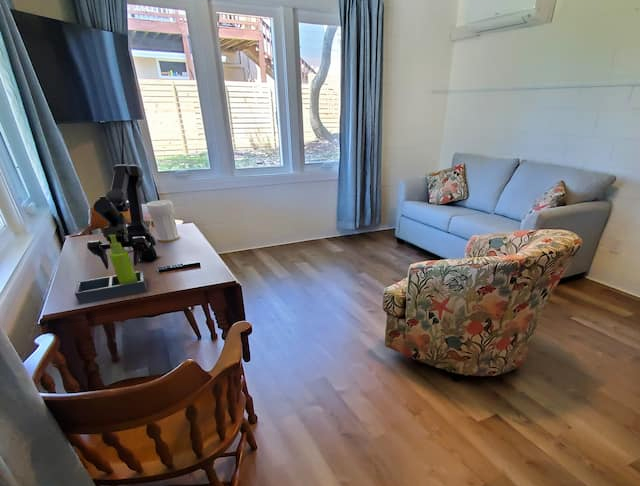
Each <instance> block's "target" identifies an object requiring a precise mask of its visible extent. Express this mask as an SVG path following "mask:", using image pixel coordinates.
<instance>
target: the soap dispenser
mask: <svg viewBox="0 0 640 486" xmlns="http://www.w3.org/2000/svg"><path fill="white" fill-rule="evenodd" d="M100 236H101V237H104V236H103V234H100ZM115 236H116V235H109V237H110V239H111V242H112V243H111V244H110V247H111V249H110V250H111V252H110V253H109V254H108V256H109V258H110V261H111V264H112V266H113V268H114V272H115V275H117V277H118V280H119V283H120V285H121V284H127V283H132V282H138V280H137V277H136V275H135V272H136V271H135V269H134V265H133V263H132V260H131V257H130V254H129V252H128V251H126V250H124V249H123V248H122V246H121V243H120V242H117V239H116V237H115Z"/></svg>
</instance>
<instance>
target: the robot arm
mask: <svg viewBox="0 0 640 486" xmlns="http://www.w3.org/2000/svg"><path fill="white" fill-rule="evenodd" d="M113 172H114V173H113V177H112V184H111V189H110V190H109V191H107V192H106V193H105V195H104V196H103V195H102V196H101V195H100V196H99V199H97V200H96V201H95V202H94V204H93V210H94V211H95V212H96V214H98V215H99V216H100V217H101V218H102V219H103V220H104V221H106V222H107V227H105V226H104V227H101V231H102V235H103V236H102V237H103V238H105V239H106V242H109V243H103V242H102V241H100V240H99V239H98V240H88V242H87V243H86V248H87V250H89V252H91V253H92V255H95V256H97V257H99V259H101V262H102V263H103V265H104V268H105V269H106V270H109V260H108V258H109V257H108V254H107V250H111V247H110V244H111V243H112V242H111V239H110V237H109V235H116V236H115V237H116V239H117V242H120V243H121V246H122V249H123V247H132V248H133V251H132V252H133V253H132V256H133V267H137V265H138V262H139V263H152V262H153V261H156V260H157V259H158V258H160V256H159V255H158V254H157V251H156V248H155V247H154V246H156V245H157V243H156V242H157V241H156V238H155V237H154V236H153V234H151V232H150V228H148V226H147V225H146V224H145V221H144V214H143V206H142V198H141V191H140V187H141V186H142V184H143V182H144V181H143V177H144V172H143V169H142V168H141V167H139V165H137V164H115V165H114V166H113ZM128 211H129V216H130V217H129V218H130V223H129V225H128V226H127V228H126V224H127V222H128V221H127V219H126V216H125V214H123V213H126V212H128ZM127 238H128V240H127Z"/></svg>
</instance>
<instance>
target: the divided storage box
mask: <svg viewBox="0 0 640 486" xmlns="http://www.w3.org/2000/svg"><path fill="white" fill-rule="evenodd" d="M134 272H135V275H136V277H137V280H138V282H132V283H127V284H121V285H120V283H119V280H118V277H117V275H116V274H114V275H109V276H101V277H97V278H90V279H85V280H80V281H77V284H76V286H75V291H74V296H75V298H76V300H77V302H78V304H79V305H83V304H89V303H93V302H98V301H104V300H109V299H110V300H111V299H115V298H119V297H126V296H130V295H136V294H142V293H146V292H147V291H148V290H147V288H148V287H147V279H146V277H145V272H144V271H143V270H138V271H134Z"/></svg>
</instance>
